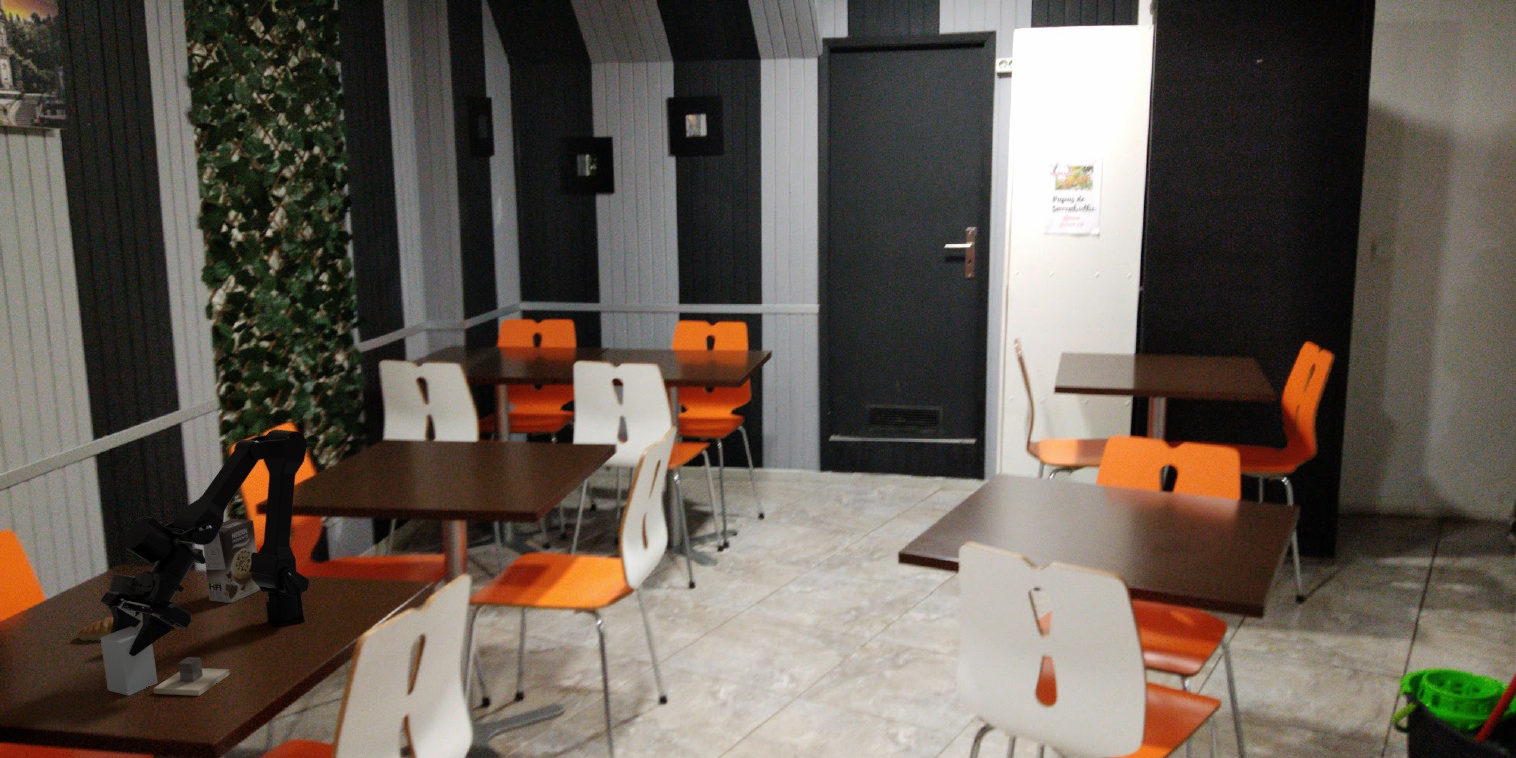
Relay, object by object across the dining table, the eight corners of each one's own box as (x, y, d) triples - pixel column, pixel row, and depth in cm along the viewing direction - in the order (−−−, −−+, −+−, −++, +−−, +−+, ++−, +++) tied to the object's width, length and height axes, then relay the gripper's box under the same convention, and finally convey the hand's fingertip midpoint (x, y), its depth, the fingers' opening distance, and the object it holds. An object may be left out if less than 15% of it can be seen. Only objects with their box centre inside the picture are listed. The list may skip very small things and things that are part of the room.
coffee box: (232, 603, 261) (223, 531, 258) (208, 601, 263) (199, 529, 261) (262, 589, 270) (254, 519, 267) (239, 587, 272) (231, 517, 269)
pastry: (75, 646, 241) (73, 628, 241) (81, 635, 247) (78, 617, 247) (128, 638, 244) (125, 620, 244) (132, 627, 251) (130, 609, 250)
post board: (186, 672, 225) (182, 649, 225) (229, 674, 224) (226, 651, 223) (154, 693, 217) (150, 669, 216) (199, 695, 215) (196, 671, 214)
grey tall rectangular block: (137, 677, 224) (130, 626, 222) (157, 682, 221) (150, 630, 219) (107, 690, 219) (100, 637, 217) (128, 695, 216) (120, 642, 214)
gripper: (103, 548, 224) (53, 626, 216) (169, 560, 215) (119, 641, 207) (147, 575, 232) (101, 651, 224) (212, 588, 223) (166, 667, 215)
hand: (120, 652), depth 218 cm, fingers closed on grey tall rectangular block, 6 cm apart
